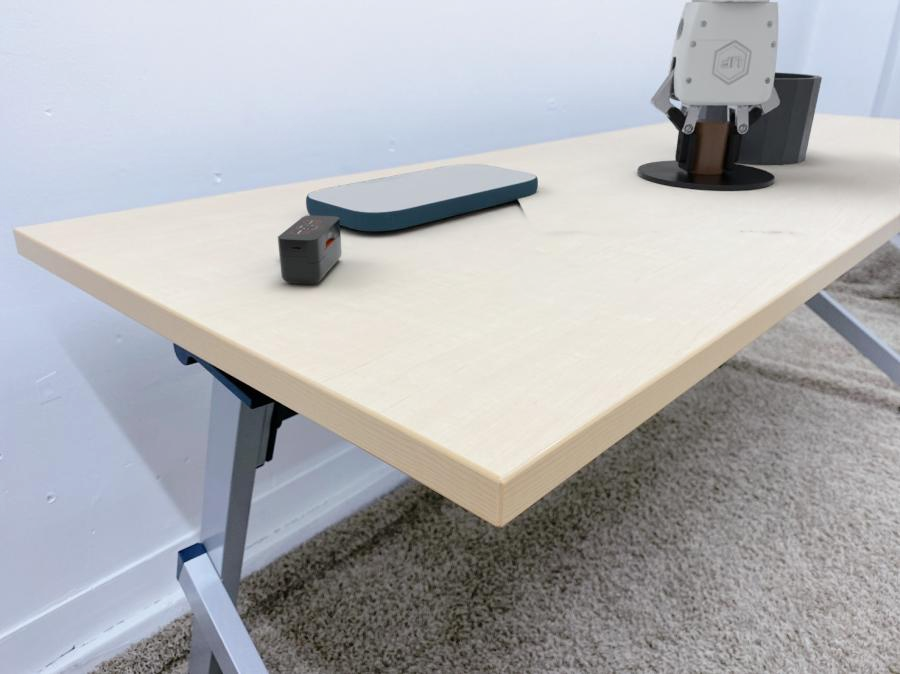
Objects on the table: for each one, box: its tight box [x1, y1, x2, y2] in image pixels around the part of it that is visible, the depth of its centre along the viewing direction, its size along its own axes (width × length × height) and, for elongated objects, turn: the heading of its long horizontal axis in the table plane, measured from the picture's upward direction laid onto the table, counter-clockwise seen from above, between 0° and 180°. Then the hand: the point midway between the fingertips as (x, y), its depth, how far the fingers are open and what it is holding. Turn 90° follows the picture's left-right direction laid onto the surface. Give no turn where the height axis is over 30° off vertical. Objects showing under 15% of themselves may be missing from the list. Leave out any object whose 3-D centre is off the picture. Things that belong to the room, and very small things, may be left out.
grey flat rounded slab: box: [305, 163, 539, 232], centre depth 69 cm, size 24×12×2 cm, turn 136°
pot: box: [697, 71, 823, 166], centre depth 91 cm, size 14×14×10 cm
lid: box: [637, 118, 776, 191], centre depth 79 cm, size 15×15×7 cm
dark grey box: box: [277, 215, 343, 285], centre depth 50 cm, size 5×7×3 cm, turn 173°
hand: (705, 167), depth 79 cm, fingers closed on lid, 3 cm apart
